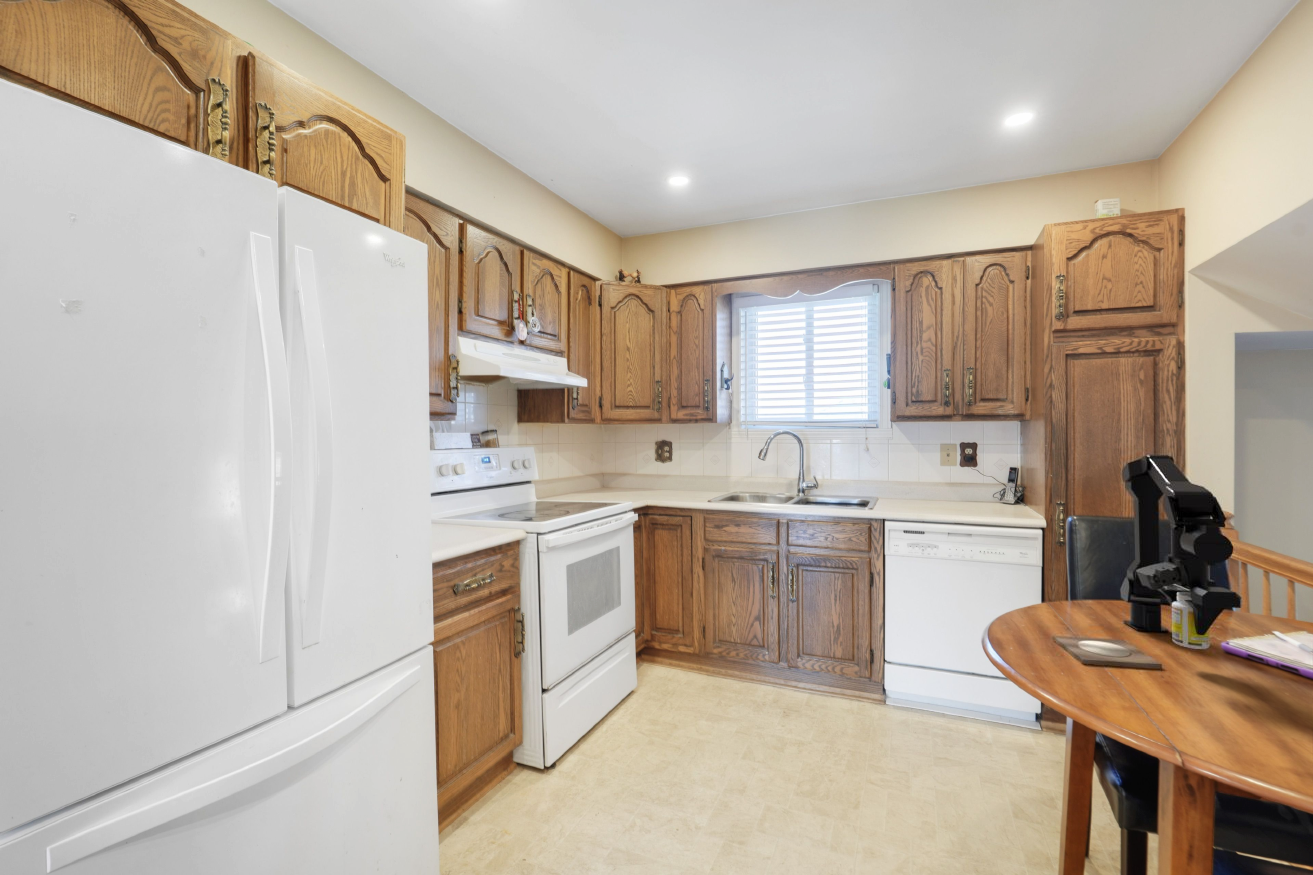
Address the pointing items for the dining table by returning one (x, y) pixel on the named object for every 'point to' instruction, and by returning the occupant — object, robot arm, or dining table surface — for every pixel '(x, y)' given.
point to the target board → (1106, 652)
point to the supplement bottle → (1186, 624)
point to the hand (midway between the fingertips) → (1190, 629)
